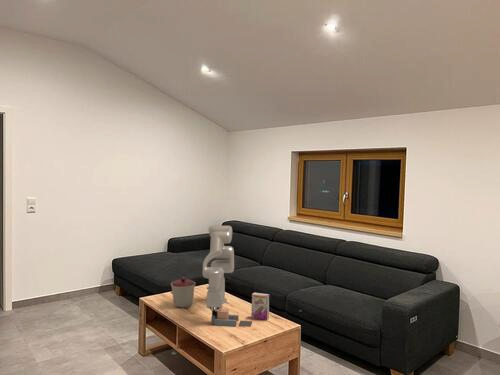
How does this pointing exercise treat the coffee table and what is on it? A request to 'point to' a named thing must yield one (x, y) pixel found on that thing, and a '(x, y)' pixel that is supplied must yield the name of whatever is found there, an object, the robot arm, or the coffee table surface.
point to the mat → (245, 323)
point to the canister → (183, 292)
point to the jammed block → (223, 313)
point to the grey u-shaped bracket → (225, 320)
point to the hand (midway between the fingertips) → (214, 316)
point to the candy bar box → (260, 306)
